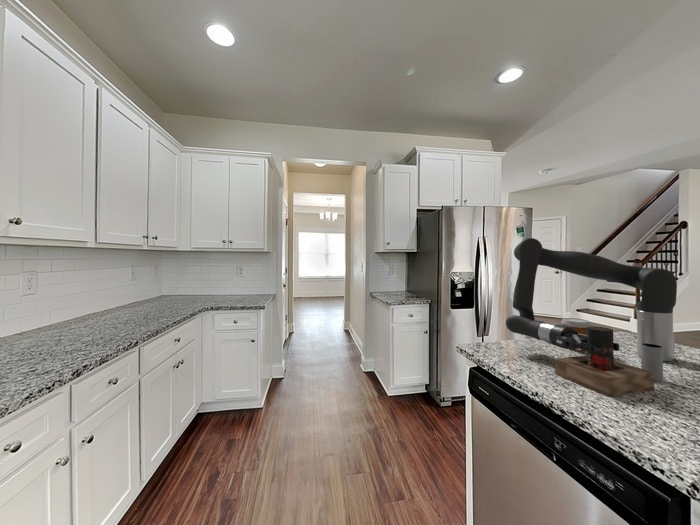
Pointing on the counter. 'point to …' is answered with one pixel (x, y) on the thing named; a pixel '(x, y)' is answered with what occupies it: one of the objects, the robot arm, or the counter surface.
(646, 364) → the gray cylindrical tube
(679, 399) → the counter surface
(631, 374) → the socket block
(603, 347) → the deodorant
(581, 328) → the disposable coffee cup
